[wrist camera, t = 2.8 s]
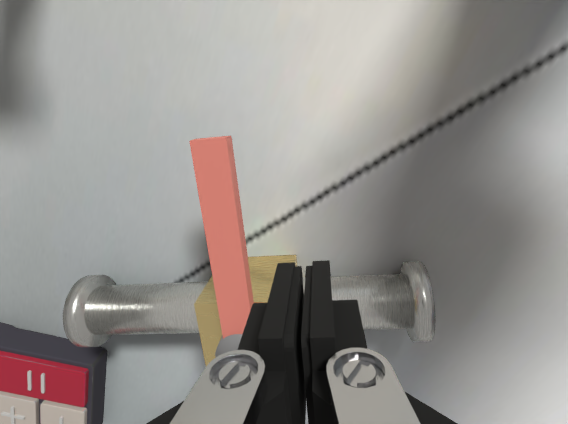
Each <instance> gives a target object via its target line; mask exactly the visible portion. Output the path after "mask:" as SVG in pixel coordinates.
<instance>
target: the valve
mask: <svg viewBox="0 0 568 424" xmlns="http://www.w3.org/2000/svg"><path fill="white" fill-rule="evenodd" d="M289 262H295V267H297V258H296V255H283V256H262V257H248V263H249V271H250V278H251V286H252V293H253V300H254V303H267V302H268V298H269V295H270V291H271V287H272V283H273V279H274V275H275V271H276V268H277V264H278V263H289ZM303 289H304V290H305V278H303ZM331 291H332V300H357V301H358V306H359V311H360V315H361V320H362V325H363V330H370V329H407V332H408V335H409V337H410V339H411V340H412V341H413V342H430V341H431V340H432V339H433V336H434V331H435V306H434V298H433V292H432V287H431V283H430V279H429V276H428V273H427V270H426V268H425V266H424V265H423V263H422V262H420V261H417V262H404V263H403V264H402V267H401V272H400V274H392V275H366V276H341V277H331ZM63 325H64V330H65V333H66V335H67V337H68V339H69V340H70V342H71V343H73V344H74V345H76V346H78V347H98V346H101V345H102V344H104V343H105V342H107V341H108V340H109V338H110V337H111V336H112V335H125V334H174V333H200V338H201V344H202V349H203V354H204V359H205V365H206V366H207V365H208V364H209V363H210V362H211V361H212V360H213V359H215V358H216V357H215V352H216V349H217V346H218V344H219V341H220V339H221V337H222V330H221V324H220V318H219V312H218V306H217V300H216V294H215V288H214V282H213V276H211V278H210V279H209V281H208V282H186V283H160V284H135V285H116V283H115V282H114V281H113V279H111V278H110V277H109V276H106V275H90V276H85V277H83V278H81V279H80V280H78V281H77V282H76V283H75V284H74V286H73V287H72V288H71V290H70V292H69V294H68V296H67V298H66V301H65V305H64V311H63Z"/></svg>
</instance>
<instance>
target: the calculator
mask: <svg viewBox="0 0 568 424" xmlns="http://www.w3.org/2000/svg"><path fill="white" fill-rule="evenodd" d="M106 362H107V350H106V349H105V348H102V347H78V346H76V345H74V344H73V343H71V342H70V340H69V339H65V338H61V337H57V336H52V335H47V334H43V333H38V332H33V331H28V330H23V329H18V328H15V327H14V326H12V325H9V324H5V323H1V322H0V424H102V422H103V413H104V396H105V379H106Z"/></svg>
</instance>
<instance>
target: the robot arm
mask: <svg viewBox="0 0 568 424" xmlns="http://www.w3.org/2000/svg"><path fill="white" fill-rule="evenodd" d="M306 400H307V411H308V422H309V424H457V423H455V422H454V421H452V420H450V419H449V418H447V417H446V416H444V415H442V414H441V413H439V412H437V411H436V410H434V409H432V408H431V407H429V406H427V405H426V404H424V403H422V402H421V401H419V400H417V399H416V398H414V397H413V396H411V395H409V394H408V393H406V392H404V390H403V388H402V386H401V384H400V382H399V380H398V378H397V376H396V374H395V372H394V370H393V368H392V366H391V364H390V363H389V362H388V360H387V359H386V358H385V357H384V356H382V355H381V354H379V353H378V352H375V351H373V350H370V349H367V345H366V340H365V335H364V330H363V325H362V320H361V315H360V311H359V306H358V301H357V300H332V291H331V277H330V263H329V261H313V265H312V266H306V276H305V290H304V289H303V278H302V268H301V266H297V267H295V262H289V263H278V264H277V268H276V271H275V275H274V279H273V283H272V287H271V291H270V295H269V298H268V302H267V303H253V305H252V307H251V310H250V313H249V316H248V319H247V322H246V325H245V328H244V331H243V334H242V337H241V340H240V343H239V346H238V349H237V350H234V351H229V352H226V353H224V354H221V355H219V356H217V357H216V358H215V359H213V360H212V361H211V362H210V363H209V364H208V365H207V366H206V367H205V369H204V371H203V372H202V374H201V375H200V377H199V378H198V380H197V382H196V383H195V385H194V386H193V388H192V389H191V391H190V393H189V394H188V396H187V397H186V399H185V400H184V401H183V402H182V403H180V404H178V405H177V406H175V407H173V408H172V409H170V410H168V411H167V412H165V413H163V414H162V415H160V416H158V417H157V418H155V419H153V420H152V421H150V422H148V423H147V424H305V413H306Z"/></svg>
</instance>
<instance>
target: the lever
mask: <svg viewBox="0 0 568 424" xmlns="http://www.w3.org/2000/svg"><path fill="white" fill-rule="evenodd" d="M190 146H191V152H192V158H193V164H194V170H195V176H196V182H197V188H198V194H199V200H200V206H201V211H202V217H203V223H204V229H205V235H206V241H207V247H208V253H209V259H210V265H211V270H212V276H213V282H214V288H215V294H216V300H217V306H218V312H219V318H220V324H221V330H222V337H221V339H220V341H219V344H218V346H217V349H216V352H215V357H217V356H219V355H221V354H224V353H226V352H229V351H234V350H237V349H238V346H239V343H240V340H241V337H242V334H243V331H244V328H245V325H246V322H247V319H248V316H249V313H250V310H251V307H252V305H253V303H254V300H253V293H252V286H251V278H250V271H249V263H248V256H247V249H246V241H245V234H244V227H243V219H242V212H241V204H240V197H239V190H238V182H237V175H236V168H235V160H234V153H233V145H232V138H231V136H223V137H211V138H200V139H194V140H191V141H190Z"/></svg>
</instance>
